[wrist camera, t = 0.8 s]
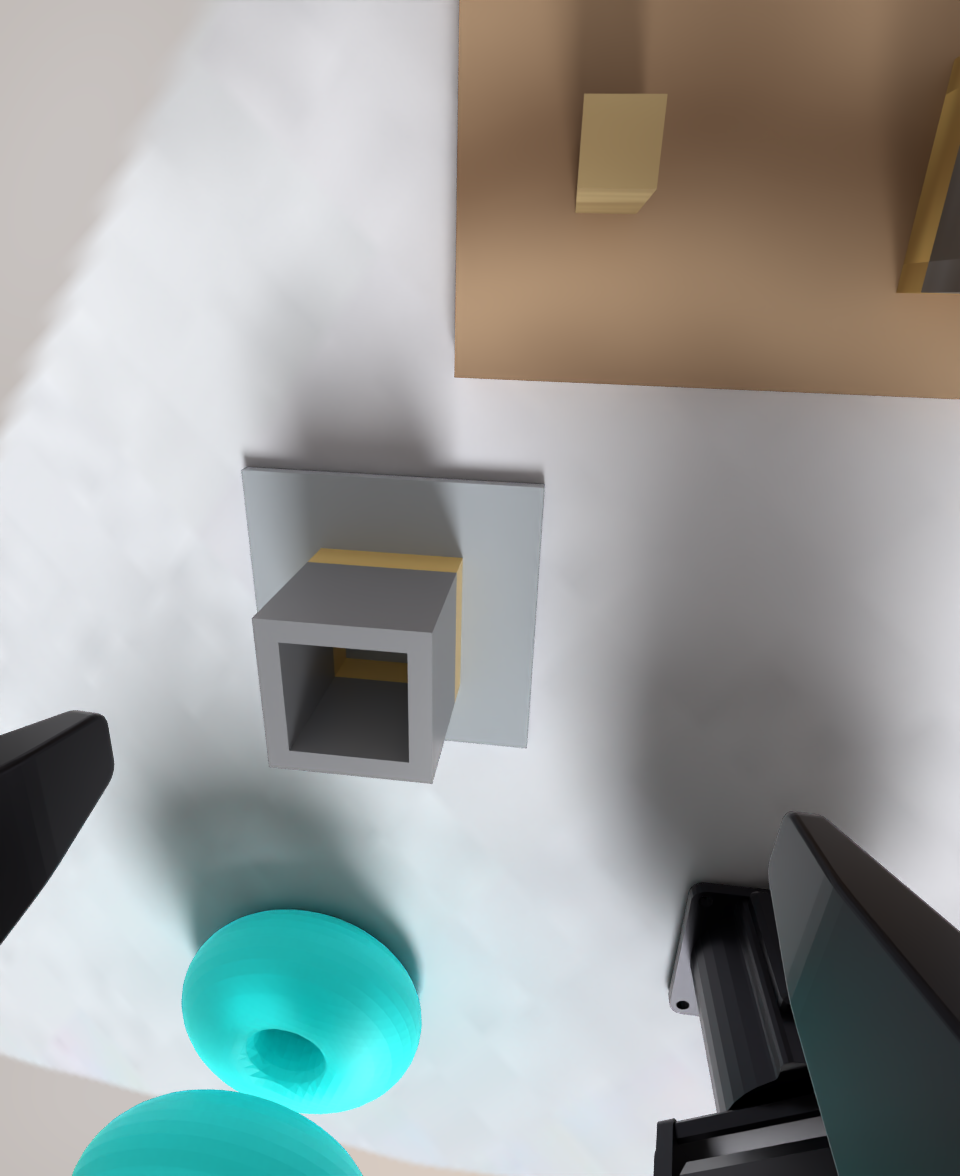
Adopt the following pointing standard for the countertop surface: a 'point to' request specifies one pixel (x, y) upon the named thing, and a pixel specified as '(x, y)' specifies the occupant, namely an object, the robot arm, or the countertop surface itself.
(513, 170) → the pin board
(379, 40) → the countertop surface
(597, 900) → the countertop surface
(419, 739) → the sleeve
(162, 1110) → the donuts
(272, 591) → the mat
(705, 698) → the countertop surface
